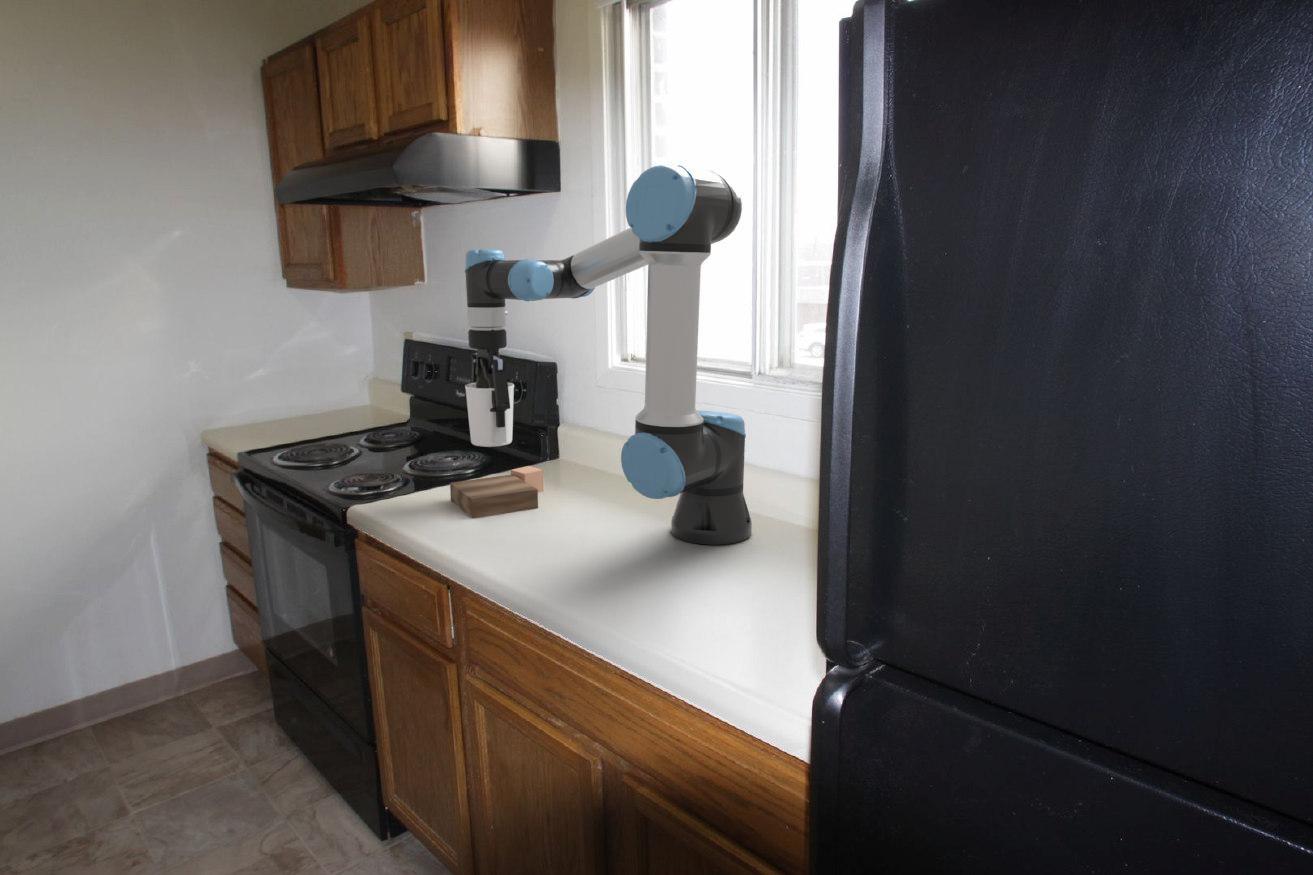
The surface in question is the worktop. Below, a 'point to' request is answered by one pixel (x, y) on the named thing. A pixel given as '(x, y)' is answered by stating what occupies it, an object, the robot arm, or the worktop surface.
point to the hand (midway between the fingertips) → (491, 438)
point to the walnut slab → (493, 495)
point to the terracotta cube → (530, 476)
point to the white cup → (486, 415)
